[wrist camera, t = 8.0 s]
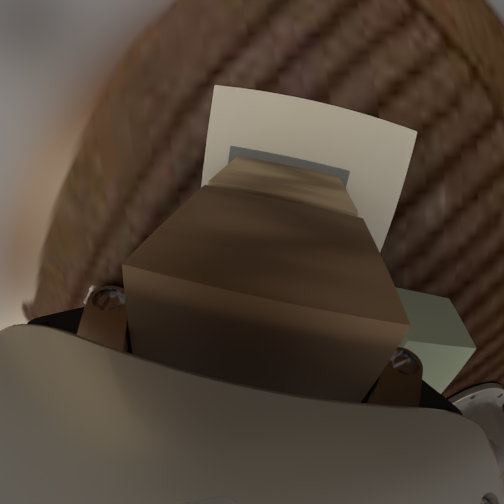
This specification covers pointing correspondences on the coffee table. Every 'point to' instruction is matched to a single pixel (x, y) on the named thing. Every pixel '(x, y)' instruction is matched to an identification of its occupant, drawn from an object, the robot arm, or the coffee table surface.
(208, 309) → the walnut block
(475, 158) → the coffee table surface
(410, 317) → the sage block
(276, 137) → the board
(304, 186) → the oak block
